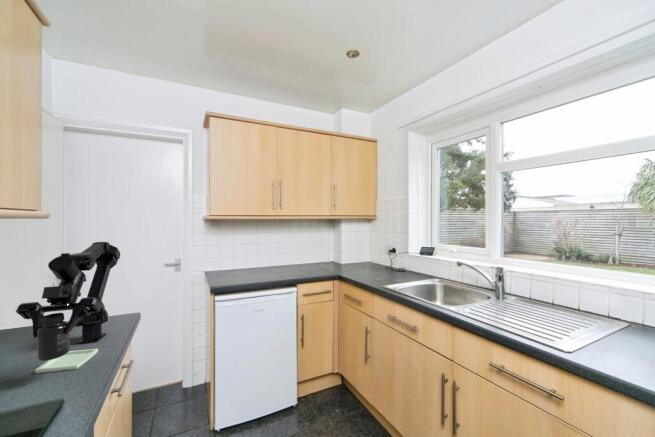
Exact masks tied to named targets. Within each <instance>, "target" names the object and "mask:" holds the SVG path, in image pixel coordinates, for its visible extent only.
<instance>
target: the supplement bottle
mask: <svg viewBox="0 0 655 437" xmlns="http://www.w3.org/2000/svg"><path fill="white" fill-rule="evenodd" d="M67 324H68V321H65V313H64V312H54V313H50V314H47V315H44V316H43V317H42V318H41V325H42V326H41V327H39V328H38V330H37V337H36V348H37V350H36V352H37V359H38V361H41V362H47V361H49V360H52V359H56V358H59V357H61V356H63V355H65V354H67V353H68V352H69V351H71V343H70V342H71V341H70V332H69V333H68V334H65V330H66V327H67Z"/></svg>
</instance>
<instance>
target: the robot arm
mask: <svg viewBox="0 0 655 437" xmlns="http://www.w3.org/2000/svg"><path fill="white" fill-rule="evenodd" d="M120 251H121V250H119V249H118V247H116V246H115V245H112V244H110V243H109V241H108V242H107V241H94V242H93V243H92V244H91V245H90V246H89V247H87V248H85V249H84V250H83V251H82V252H77V253H72V254H71V253H70V252H68V253H67V252H65V253H61V254H60V255H59V256H57V257H55V258H53V259H51V261H49V262H48V264H47V267H48V269H49V270H50V271H51V272H52V273H53V275H54V276H55V277H56V280H59V284H58V285H57V286H55V285H54V286H46V287H45V286H44V287H43V291H42V294H41V299H42V300H44V299H46V303H48V305H41V303H40V302H38V301H35V302H34V301H33V302H22V303H19V305H18V306H17V308H16V310H15V312H16V313H17V314H18V315H19V316H20V317H21V318H23V319H24V320H31V322H32V337H33V338H35V339H37V330H38V328H39V327H41V326H42V325H41V318H42V317H43V316H45V313H53V312H60V311H71V316H70V318H69V321H67V323H68V324H67V327H66V330H65V334H68V333H69V334H70V332H71V331H72V330H73V329H74V328H75V327H76V328H77V327H81V339H80V340H78V341H77V344H85V343H97V342H99V341H100V340H101V339H103V338H104V337H106V336H107V332H105V333H103V324H105V323H107V322H108V321H109V313H108V311H107V310H106V308H105V304H104V302H103V297H104V294H105V289H106V288H107V287H106V286H107V284H108V280H109V276H110V272H111V269H112V268H114V267H115V266H117V264H118V262H119V260H120V258H121V252H120ZM95 265H96V269H95V272H94V274H93V277H92V281H91V284H90V287H89V288H88V293H87V295H86V297H82V298H80V300H79V301H78V298H79V297H81V295H82V293H81V291H82V287H83V285H84V283H85V282H87V276H86V274H85V273H84V272H85V271H91V270H92V269H93V268H94V267H95ZM77 301H78V302H77Z"/></svg>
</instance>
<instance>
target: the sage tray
mask: <svg viewBox="0 0 655 437" xmlns="http://www.w3.org/2000/svg"><path fill="white" fill-rule="evenodd" d="M98 353H99V348H90V349H80V350H69V352H68V353H67V354H65V355H63V356H61V357H59V358H56V359H52V360H47V361H45V362H44V363H43V364H41V365H40V366H39V367H37V368H35V369H34V374H35V375H36V374H45V373H53V372H54V373H56V372H65V371H73V370H76V371H77V370H78V369H79V368H81V367H82V366H83V365H84V364H85V363H86V362H88V361H89V360H90V359H91V358H93V357H94V356H95V355H96V354H98Z"/></svg>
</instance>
